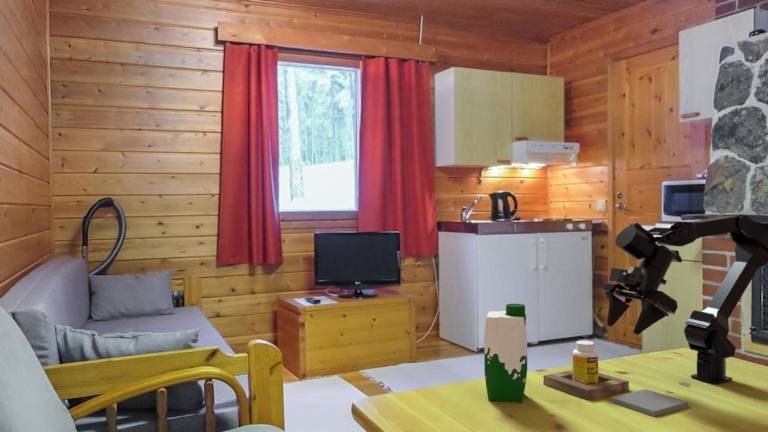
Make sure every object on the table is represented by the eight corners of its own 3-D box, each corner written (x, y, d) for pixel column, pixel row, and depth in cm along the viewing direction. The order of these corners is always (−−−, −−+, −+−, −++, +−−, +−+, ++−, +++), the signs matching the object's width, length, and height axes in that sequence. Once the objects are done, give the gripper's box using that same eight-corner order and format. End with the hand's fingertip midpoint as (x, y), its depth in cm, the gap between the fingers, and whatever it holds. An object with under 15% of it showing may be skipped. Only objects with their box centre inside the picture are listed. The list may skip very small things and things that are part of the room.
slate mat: (645, 393, 129) (645, 388, 129) (688, 406, 120) (688, 401, 120) (611, 402, 123) (611, 397, 123) (653, 416, 115) (653, 411, 115)
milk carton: (526, 405, 122) (526, 308, 122) (482, 401, 125) (482, 307, 124) (528, 392, 131) (527, 302, 130) (486, 389, 133) (486, 301, 133)
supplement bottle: (587, 392, 130) (587, 346, 130) (567, 386, 135) (567, 341, 135) (603, 388, 133) (603, 342, 133) (583, 382, 138) (583, 338, 138)
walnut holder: (583, 375, 143) (583, 367, 143) (628, 390, 131) (628, 381, 131) (543, 384, 136) (543, 375, 136) (588, 399, 125) (588, 390, 125)
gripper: (601, 249, 142) (571, 306, 140) (655, 255, 124) (621, 320, 122) (635, 272, 144) (606, 328, 142) (693, 281, 126) (660, 345, 124)
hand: (621, 329), depth 133 cm, fingers open, 9 cm apart
